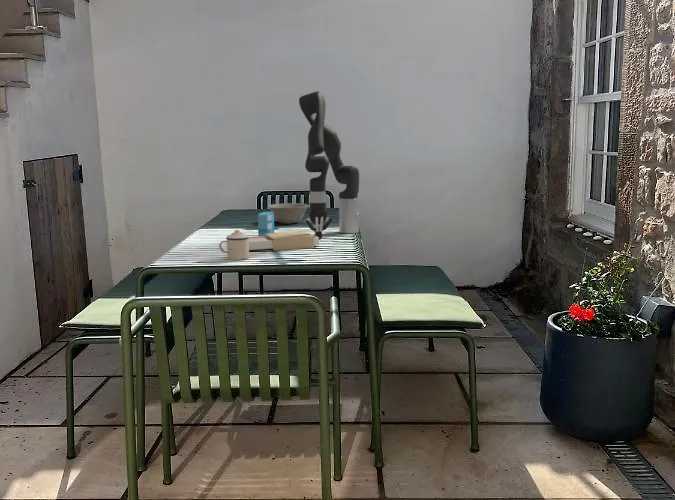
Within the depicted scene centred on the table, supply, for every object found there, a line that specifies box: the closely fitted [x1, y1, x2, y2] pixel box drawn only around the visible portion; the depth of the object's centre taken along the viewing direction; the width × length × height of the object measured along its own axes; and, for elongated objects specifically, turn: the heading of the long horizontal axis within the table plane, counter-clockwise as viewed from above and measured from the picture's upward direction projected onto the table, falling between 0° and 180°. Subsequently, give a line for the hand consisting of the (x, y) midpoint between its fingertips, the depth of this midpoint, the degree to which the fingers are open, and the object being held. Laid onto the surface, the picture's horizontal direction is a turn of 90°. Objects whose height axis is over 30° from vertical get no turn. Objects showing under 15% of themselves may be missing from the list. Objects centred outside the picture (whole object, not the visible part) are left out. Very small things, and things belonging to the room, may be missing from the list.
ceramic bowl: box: [267, 202, 310, 225], centre depth 368 cm, size 22×23×10 cm
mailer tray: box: [248, 232, 320, 251], centre depth 292 cm, size 32×14×4 cm, turn 109°
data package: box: [257, 211, 275, 236], centre depth 318 cm, size 12×4×12 cm, turn 170°
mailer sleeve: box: [265, 230, 315, 251], centre depth 293 cm, size 18×16×5 cm
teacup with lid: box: [218, 229, 250, 261], centre depth 265 cm, size 12×9×12 cm
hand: (318, 239), depth 297 cm, fingers closed
